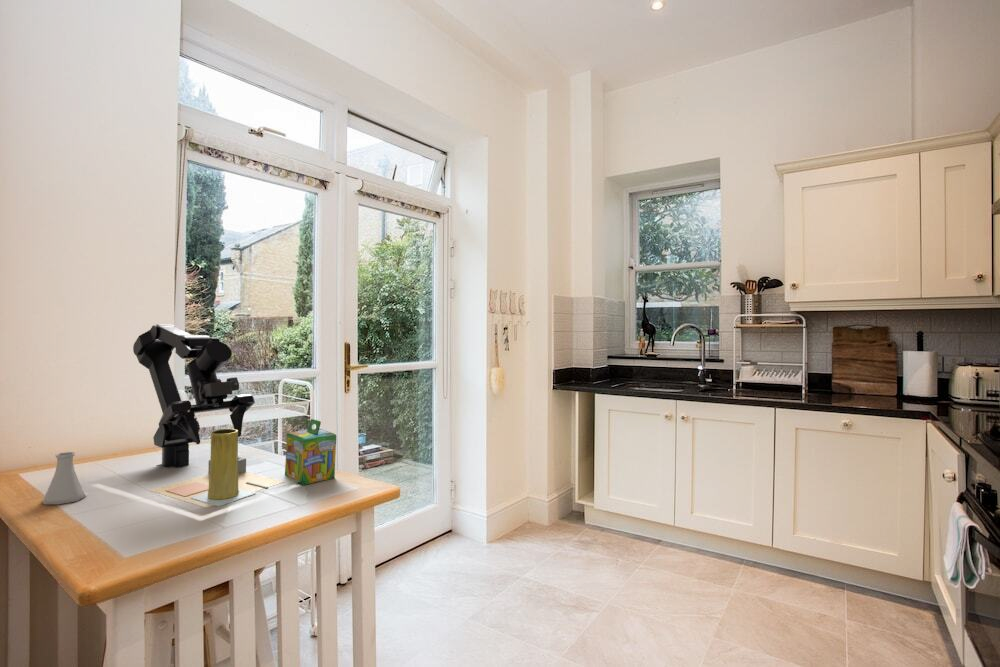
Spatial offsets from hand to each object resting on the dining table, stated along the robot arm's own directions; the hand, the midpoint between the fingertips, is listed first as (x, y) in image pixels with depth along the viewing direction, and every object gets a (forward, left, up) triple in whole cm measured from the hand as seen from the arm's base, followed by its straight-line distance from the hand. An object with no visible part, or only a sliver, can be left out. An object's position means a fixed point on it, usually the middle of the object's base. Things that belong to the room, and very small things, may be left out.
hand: (219, 440), depth 121 cm
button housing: (-5, +6, -10) cm, 13 cm away
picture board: (+2, -1, -11) cm, 11 cm away
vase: (+9, -5, -10) cm, 14 cm away
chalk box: (+13, +16, -11) cm, 23 cm away
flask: (-19, -22, -11) cm, 31 cm away
